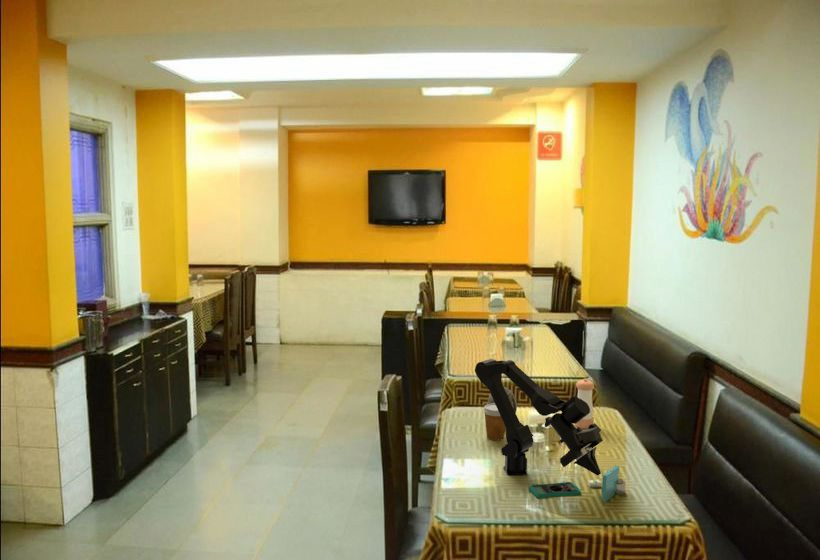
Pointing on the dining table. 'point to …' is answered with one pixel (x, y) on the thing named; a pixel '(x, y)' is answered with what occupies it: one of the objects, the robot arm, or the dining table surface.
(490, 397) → the decorative egg
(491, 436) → the disposable coffee cup
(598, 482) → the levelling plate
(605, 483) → the light blue tilted panel
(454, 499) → the dining table surface
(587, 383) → the pepper shaker
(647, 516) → the dining table surface
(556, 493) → the digital multimeter
